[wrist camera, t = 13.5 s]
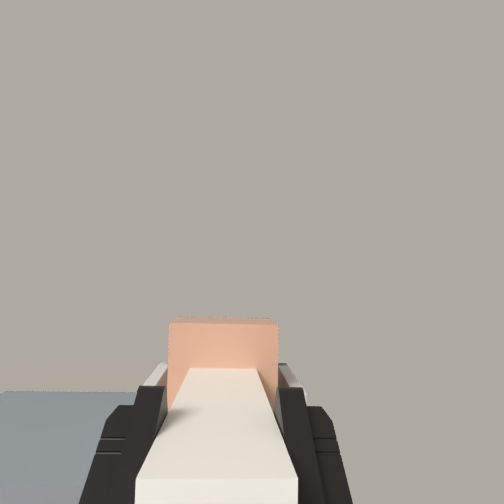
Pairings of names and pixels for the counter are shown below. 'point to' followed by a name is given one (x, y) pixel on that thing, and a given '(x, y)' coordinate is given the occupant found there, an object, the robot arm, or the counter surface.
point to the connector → (220, 418)
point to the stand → (62, 438)
